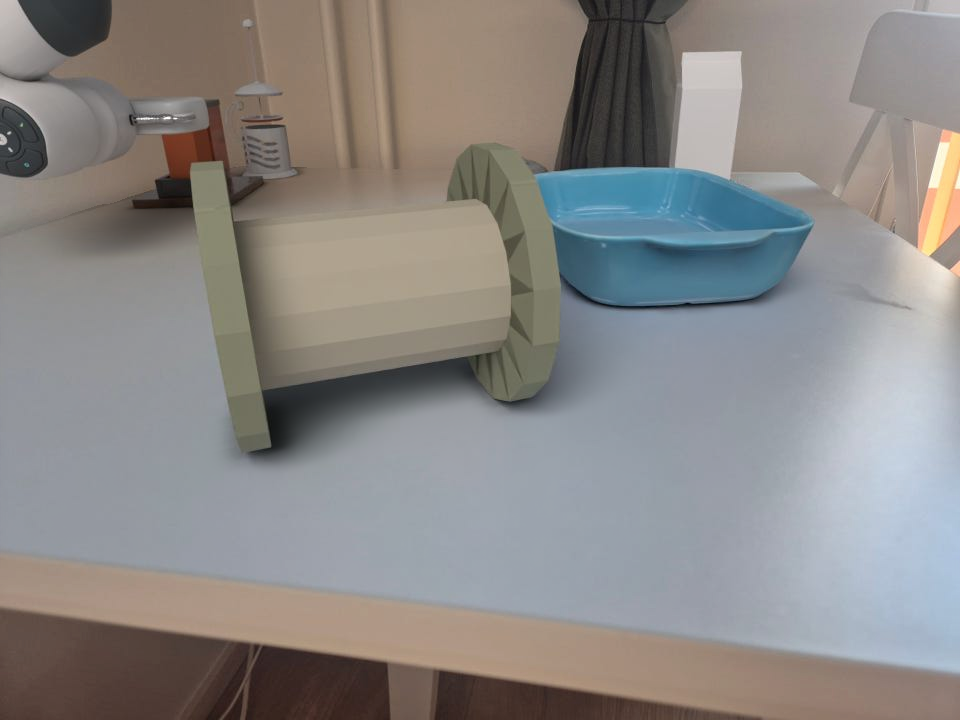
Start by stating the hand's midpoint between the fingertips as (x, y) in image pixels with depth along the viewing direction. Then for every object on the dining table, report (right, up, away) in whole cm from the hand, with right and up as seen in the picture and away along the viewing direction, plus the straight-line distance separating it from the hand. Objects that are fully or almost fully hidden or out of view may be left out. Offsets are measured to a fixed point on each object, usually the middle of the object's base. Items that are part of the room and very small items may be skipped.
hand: (142, 110), depth 86 cm
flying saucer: (+47, -6, +18) cm, 51 cm away
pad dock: (0, -6, +19) cm, 20 cm away
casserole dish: (+59, -22, -18) cm, 66 cm away
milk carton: (+72, -11, +6) cm, 73 cm away
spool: (+37, -35, -44) cm, 68 cm away
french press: (+4, +1, +36) cm, 36 cm away
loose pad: (0, -6, +16) cm, 17 cm away
